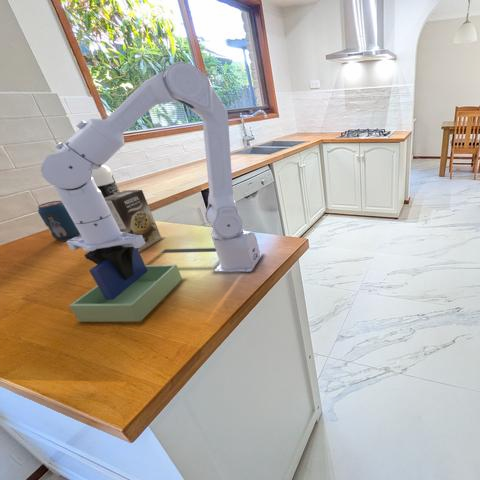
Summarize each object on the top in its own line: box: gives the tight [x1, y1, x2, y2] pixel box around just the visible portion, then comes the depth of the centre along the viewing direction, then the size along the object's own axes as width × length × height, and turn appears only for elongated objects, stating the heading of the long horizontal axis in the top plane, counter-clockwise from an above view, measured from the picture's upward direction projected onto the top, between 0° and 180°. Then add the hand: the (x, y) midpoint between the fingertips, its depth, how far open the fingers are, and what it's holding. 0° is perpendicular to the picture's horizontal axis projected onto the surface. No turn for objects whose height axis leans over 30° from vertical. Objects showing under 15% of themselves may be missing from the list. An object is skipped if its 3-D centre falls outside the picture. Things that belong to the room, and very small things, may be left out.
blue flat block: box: [88, 248, 148, 300], centre depth 60 cm, size 2×10×7 cm, turn 176°
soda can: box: [37, 200, 81, 242], centre depth 95 cm, size 7×7×12 cm
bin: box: [68, 264, 183, 323], centre depth 63 cm, size 13×14×4 cm
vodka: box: [90, 164, 121, 198], centre depth 90 cm, size 9×9×30 cm
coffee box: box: [104, 189, 163, 253], centre depth 84 cm, size 9×6×16 cm
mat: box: [160, 247, 217, 254], centre depth 78 cm, size 20×10×1 cm, turn 86°
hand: (124, 276), depth 61 cm, fingers closed on blue flat block, 2 cm apart
